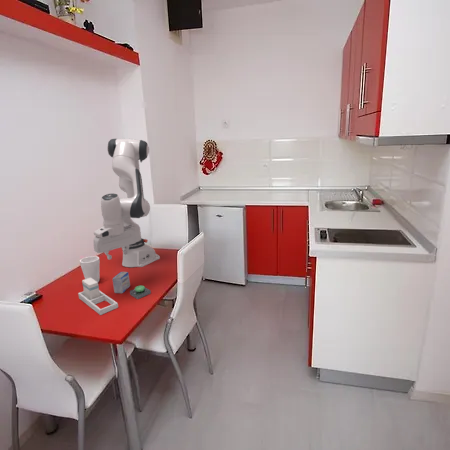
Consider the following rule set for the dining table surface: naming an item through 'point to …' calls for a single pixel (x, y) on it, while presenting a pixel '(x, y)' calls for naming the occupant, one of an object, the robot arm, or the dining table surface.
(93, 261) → the foam cup
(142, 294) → the grey button housing
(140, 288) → the button
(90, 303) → the white rectangular tray
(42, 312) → the dining table surface
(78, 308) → the dining table surface
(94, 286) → the seated billet
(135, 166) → the robot arm
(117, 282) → the medicine box
